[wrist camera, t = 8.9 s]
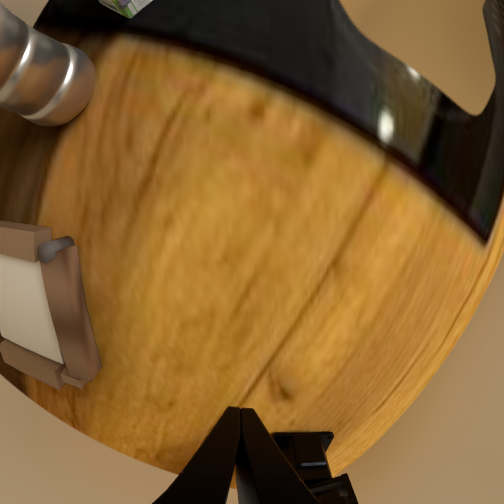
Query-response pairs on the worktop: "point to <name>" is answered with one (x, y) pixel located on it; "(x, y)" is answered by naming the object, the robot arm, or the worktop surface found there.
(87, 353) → the leg
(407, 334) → the worktop surface
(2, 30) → the silver metal bottle
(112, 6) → the syrup box
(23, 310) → the seat
